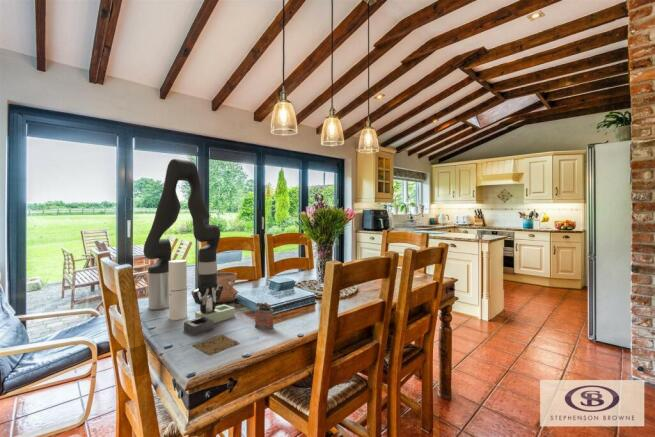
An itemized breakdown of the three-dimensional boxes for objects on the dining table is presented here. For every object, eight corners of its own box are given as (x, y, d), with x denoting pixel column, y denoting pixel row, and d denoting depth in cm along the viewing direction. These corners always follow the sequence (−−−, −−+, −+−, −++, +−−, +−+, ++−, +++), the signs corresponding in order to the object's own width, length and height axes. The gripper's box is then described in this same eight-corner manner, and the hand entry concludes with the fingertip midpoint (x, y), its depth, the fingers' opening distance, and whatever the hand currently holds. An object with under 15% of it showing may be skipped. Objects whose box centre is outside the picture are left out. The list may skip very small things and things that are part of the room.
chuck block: (183, 330, 122) (183, 321, 122) (202, 324, 128) (202, 316, 128) (194, 335, 117) (194, 326, 117) (213, 329, 123) (213, 320, 123)
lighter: (275, 327, 126) (275, 302, 125) (270, 330, 123) (270, 305, 122) (257, 324, 128) (257, 300, 128) (253, 327, 125) (253, 303, 125)
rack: (195, 321, 132) (195, 312, 132) (224, 312, 143) (224, 304, 143) (205, 325, 127) (205, 316, 127) (234, 316, 138) (234, 307, 138)
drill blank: (201, 318, 132) (201, 297, 132) (209, 315, 135) (209, 295, 134) (206, 320, 130) (206, 298, 129) (214, 317, 132) (214, 296, 132)
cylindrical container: (180, 320, 133) (179, 262, 132) (165, 319, 134) (164, 262, 134) (190, 314, 140) (190, 259, 139) (176, 313, 141) (176, 259, 141)
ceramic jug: (244, 302, 160) (244, 274, 160) (217, 307, 150) (216, 278, 150) (230, 295, 173) (230, 270, 173) (204, 299, 164) (204, 273, 164)
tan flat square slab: (221, 335, 118) (221, 333, 118) (240, 344, 110) (240, 342, 110) (191, 346, 109) (191, 344, 109) (209, 357, 101) (209, 354, 101)
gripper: (217, 268, 139) (217, 306, 140) (187, 273, 128) (187, 314, 129) (227, 270, 135) (227, 309, 135) (196, 275, 124) (196, 318, 124)
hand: (207, 311), depth 132 cm, fingers closed on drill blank, 3 cm apart
